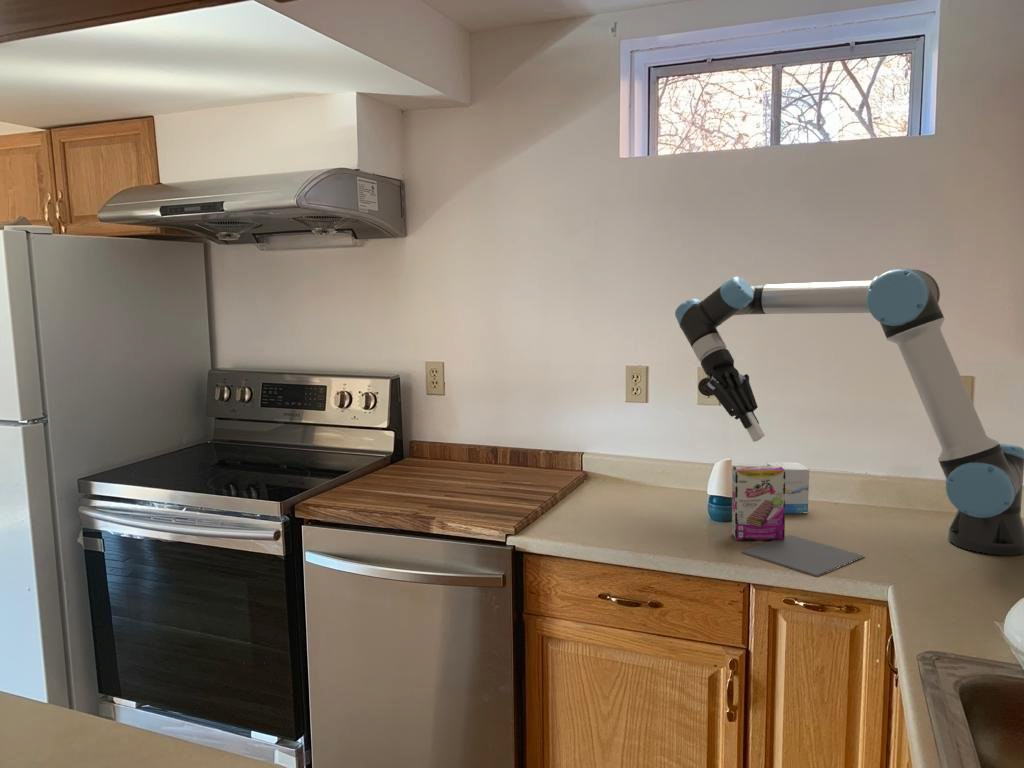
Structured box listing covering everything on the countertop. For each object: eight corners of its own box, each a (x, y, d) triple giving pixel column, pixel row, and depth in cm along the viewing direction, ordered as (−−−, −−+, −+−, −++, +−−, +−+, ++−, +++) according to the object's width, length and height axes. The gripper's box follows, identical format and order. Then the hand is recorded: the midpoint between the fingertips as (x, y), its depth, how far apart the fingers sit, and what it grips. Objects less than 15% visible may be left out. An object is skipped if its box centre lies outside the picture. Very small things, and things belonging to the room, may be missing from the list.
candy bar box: (735, 541, 176) (734, 469, 174) (731, 534, 181) (730, 465, 179) (786, 540, 175) (786, 469, 173) (780, 534, 180) (780, 464, 178)
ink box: (808, 513, 197) (810, 469, 195) (775, 514, 197) (776, 469, 196) (797, 504, 205) (798, 461, 204) (764, 504, 206) (766, 461, 204)
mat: (864, 557, 165) (864, 555, 165) (817, 576, 154) (817, 575, 154) (789, 536, 179) (789, 534, 179) (741, 552, 168) (741, 551, 168)
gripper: (723, 361, 198) (768, 441, 188) (685, 366, 191) (729, 450, 182) (741, 344, 192) (788, 427, 183) (702, 349, 186) (749, 435, 176)
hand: (759, 438), depth 182 cm, fingers closed
